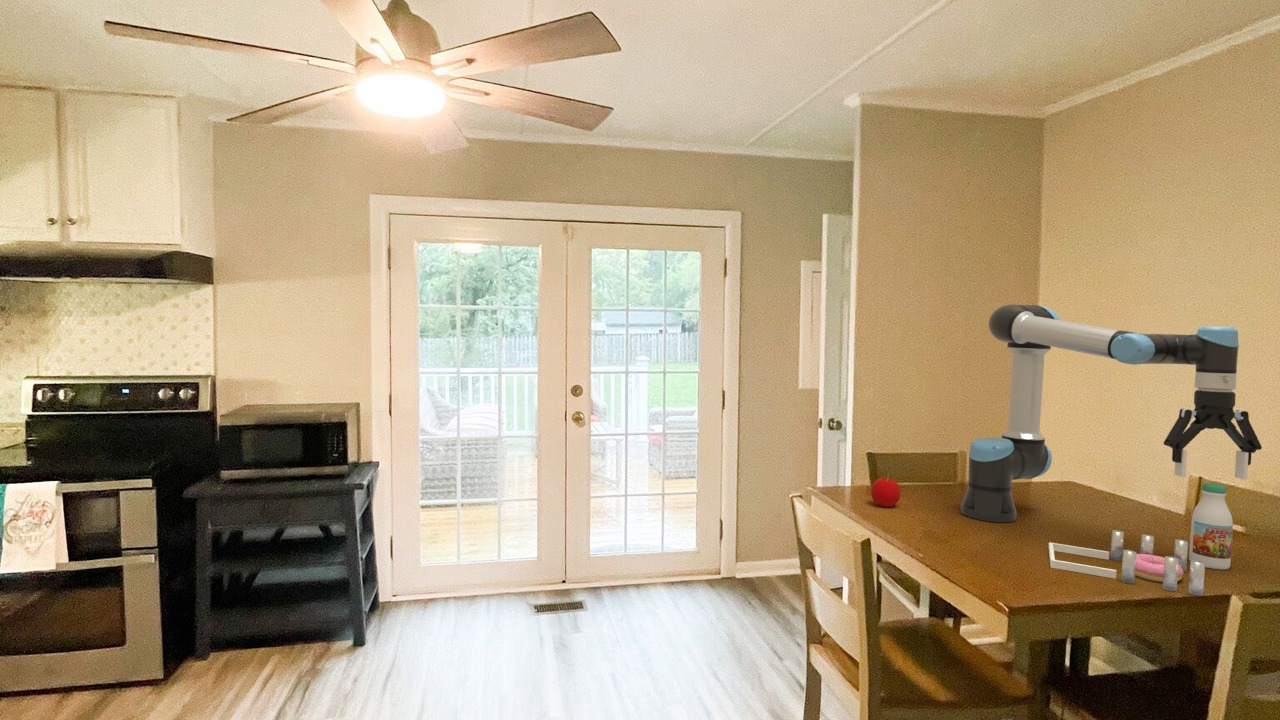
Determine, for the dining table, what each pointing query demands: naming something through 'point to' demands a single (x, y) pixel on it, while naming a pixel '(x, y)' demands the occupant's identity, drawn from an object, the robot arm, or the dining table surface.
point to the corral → (1080, 567)
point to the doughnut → (1152, 567)
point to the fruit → (885, 492)
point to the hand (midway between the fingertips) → (1210, 477)
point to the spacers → (1169, 563)
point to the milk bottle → (1212, 529)
